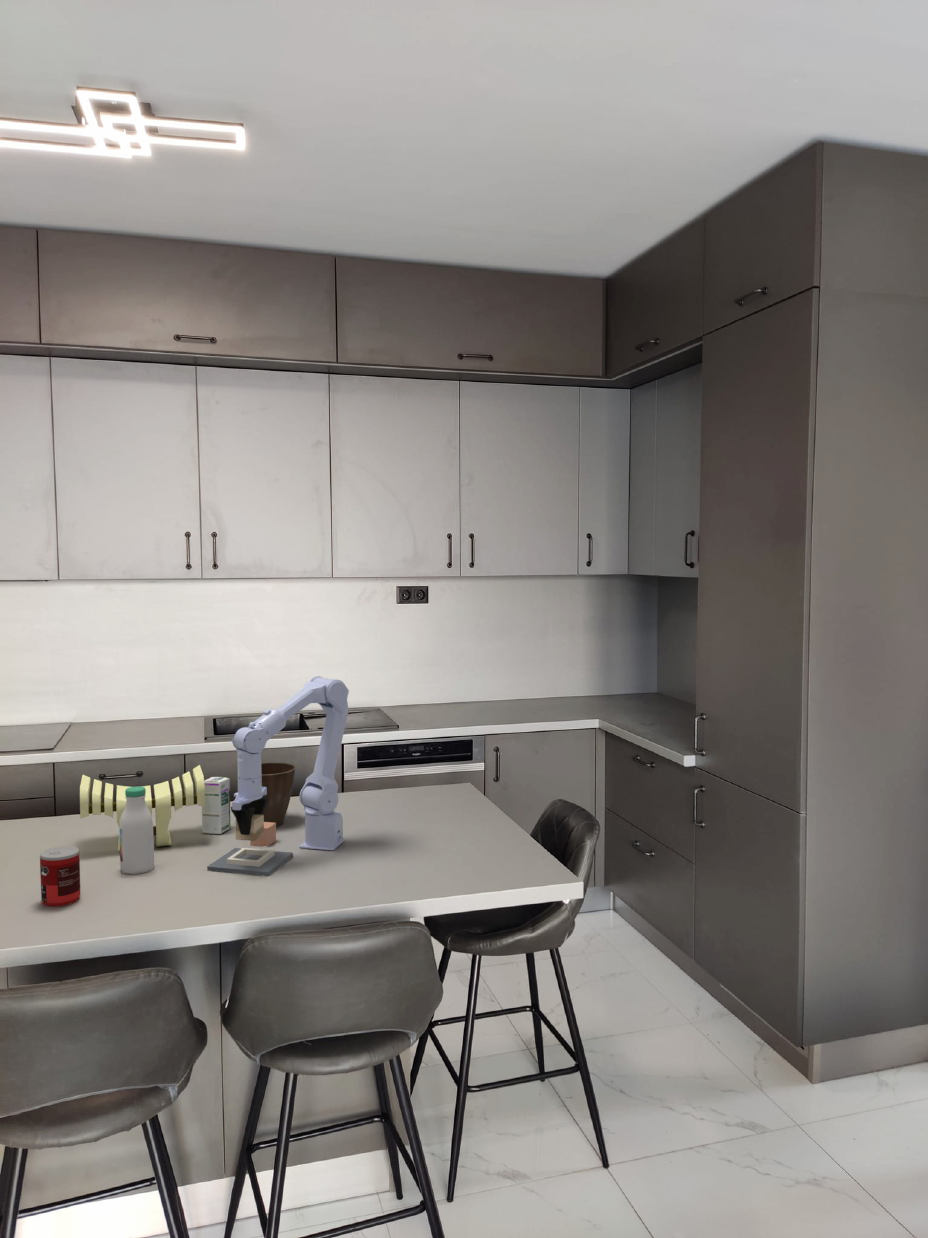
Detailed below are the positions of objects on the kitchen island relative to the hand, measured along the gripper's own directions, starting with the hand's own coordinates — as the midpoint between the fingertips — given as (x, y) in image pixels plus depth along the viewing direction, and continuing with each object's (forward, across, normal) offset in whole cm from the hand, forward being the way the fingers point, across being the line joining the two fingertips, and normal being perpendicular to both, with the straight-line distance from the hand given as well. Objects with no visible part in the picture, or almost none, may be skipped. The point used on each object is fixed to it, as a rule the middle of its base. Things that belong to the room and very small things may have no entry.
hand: (250, 831), depth 216 cm
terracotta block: (+8, -15, -4) cm, 18 cm away
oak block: (+2, 0, 0) cm, 2 cm away
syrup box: (+8, -21, -21) cm, 31 cm away
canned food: (+8, +31, -30) cm, 44 cm away
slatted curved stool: (+8, -8, -35) cm, 37 cm away
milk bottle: (+8, +10, -25) cm, 28 cm away
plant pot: (+8, -31, -10) cm, 34 cm away
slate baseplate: (+8, 0, 0) cm, 8 cm away
